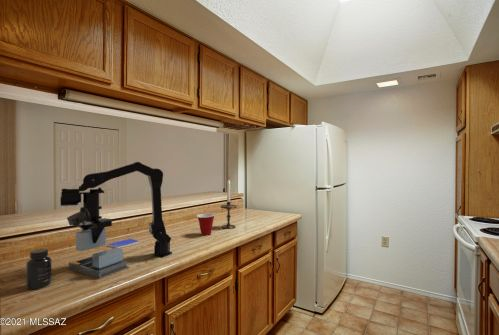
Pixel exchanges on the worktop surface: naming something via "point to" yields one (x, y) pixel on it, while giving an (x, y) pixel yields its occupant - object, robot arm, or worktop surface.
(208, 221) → the plastic cup
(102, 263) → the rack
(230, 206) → the candlestick
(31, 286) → the supplement bottle
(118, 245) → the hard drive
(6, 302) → the worktop surface
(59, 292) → the worktop surface
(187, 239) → the worktop surface
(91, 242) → the pale grey block
